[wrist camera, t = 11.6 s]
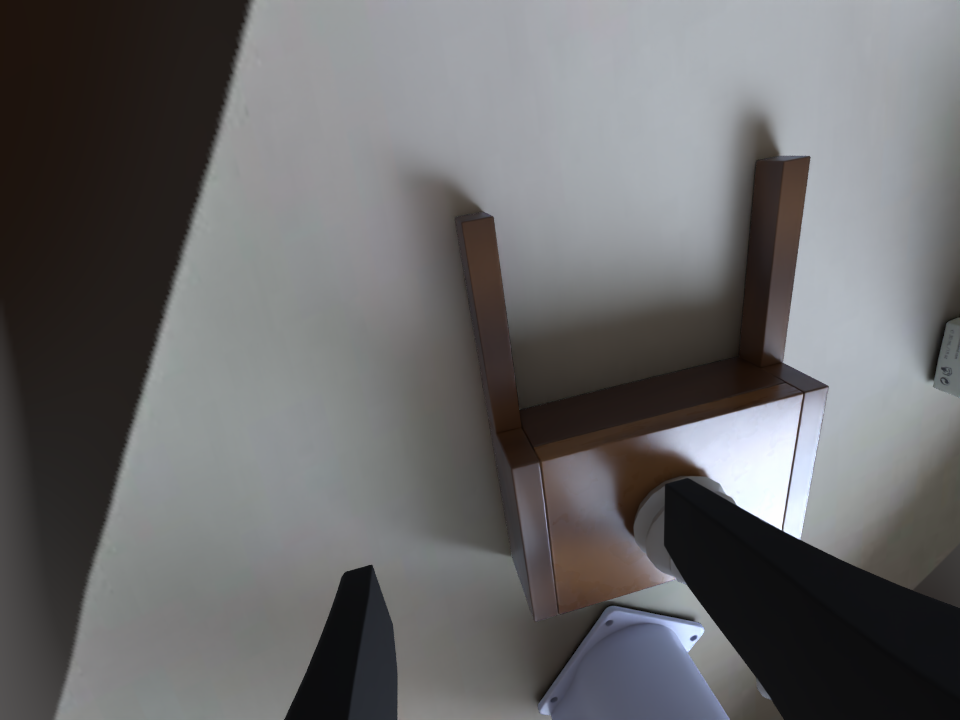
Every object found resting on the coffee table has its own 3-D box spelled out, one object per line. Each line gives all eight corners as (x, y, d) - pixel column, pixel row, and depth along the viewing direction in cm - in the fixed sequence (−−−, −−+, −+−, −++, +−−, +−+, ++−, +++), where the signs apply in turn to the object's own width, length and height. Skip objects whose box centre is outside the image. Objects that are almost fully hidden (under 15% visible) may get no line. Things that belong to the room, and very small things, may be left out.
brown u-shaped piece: (454, 217, 18) (474, 232, 14) (781, 155, 20) (872, 156, 16) (511, 557, 26) (534, 623, 22) (744, 491, 27) (800, 542, 24)
